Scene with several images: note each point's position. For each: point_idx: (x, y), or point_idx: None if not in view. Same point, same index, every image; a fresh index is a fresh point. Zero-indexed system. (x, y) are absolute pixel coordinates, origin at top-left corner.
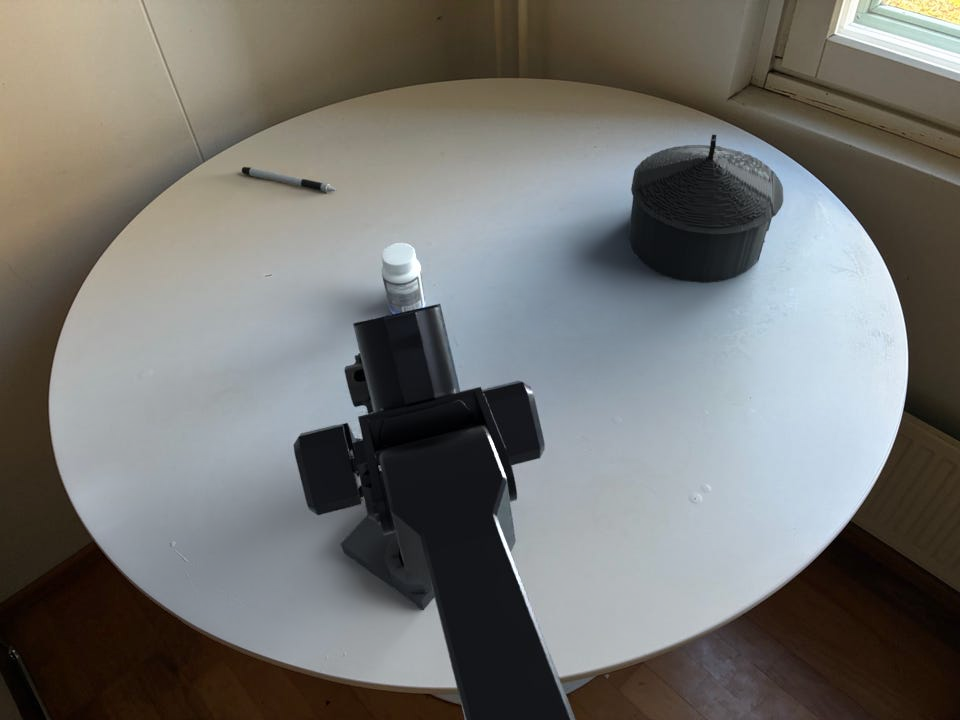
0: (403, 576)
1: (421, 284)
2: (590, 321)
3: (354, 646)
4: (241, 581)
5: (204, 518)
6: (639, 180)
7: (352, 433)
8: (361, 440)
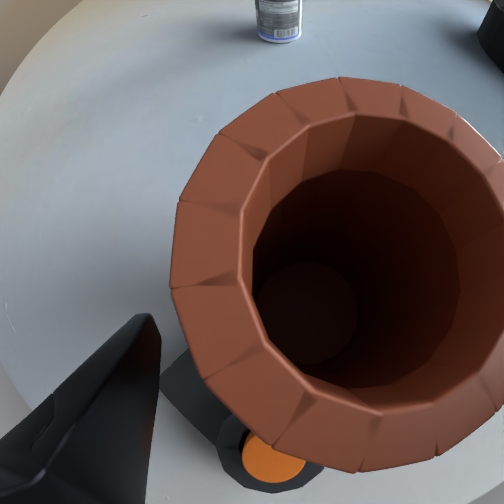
0: (244, 478)
1: (301, 9)
2: (476, 98)
3: (178, 495)
4: (54, 376)
5: (25, 282)
6: (499, 3)
7: (3, 501)
8: (111, 381)
